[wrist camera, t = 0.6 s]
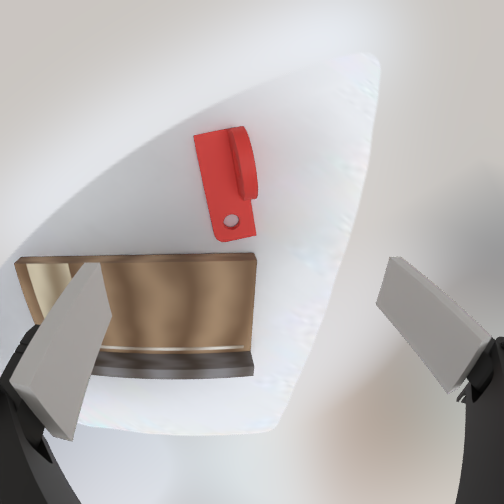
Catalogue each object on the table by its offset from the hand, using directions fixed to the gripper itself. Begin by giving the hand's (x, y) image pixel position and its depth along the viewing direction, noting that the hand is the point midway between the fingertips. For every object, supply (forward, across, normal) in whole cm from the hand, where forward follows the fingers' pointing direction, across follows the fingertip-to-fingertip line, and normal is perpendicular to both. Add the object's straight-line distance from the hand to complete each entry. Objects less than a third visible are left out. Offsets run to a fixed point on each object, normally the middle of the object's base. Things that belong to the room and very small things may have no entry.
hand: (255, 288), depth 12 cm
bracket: (+20, 0, +1) cm, 20 cm away
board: (+19, -12, -15) cm, 28 cm away
